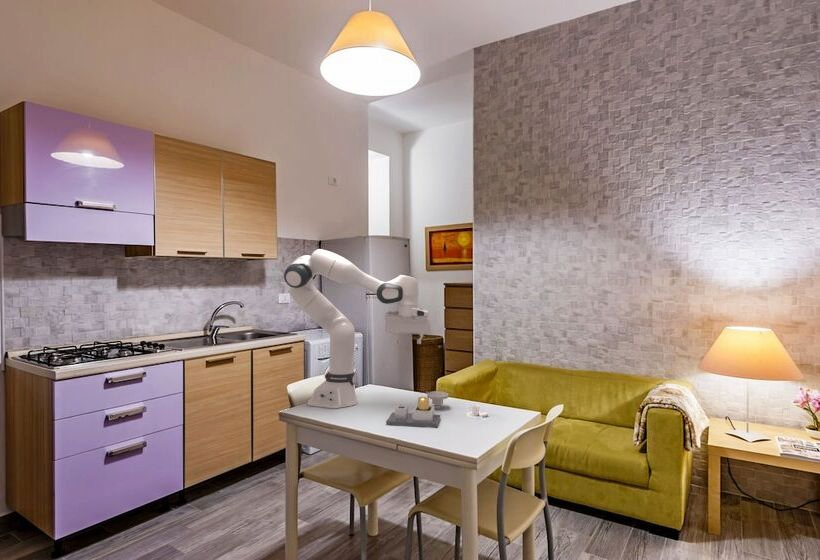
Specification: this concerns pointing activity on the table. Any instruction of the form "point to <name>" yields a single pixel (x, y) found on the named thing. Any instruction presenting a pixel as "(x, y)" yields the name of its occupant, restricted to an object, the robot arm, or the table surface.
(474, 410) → the teacup and saucer
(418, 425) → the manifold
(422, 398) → the cylinder
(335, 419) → the table surface
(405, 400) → the table surface
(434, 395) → the showerhead
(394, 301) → the robot arm
